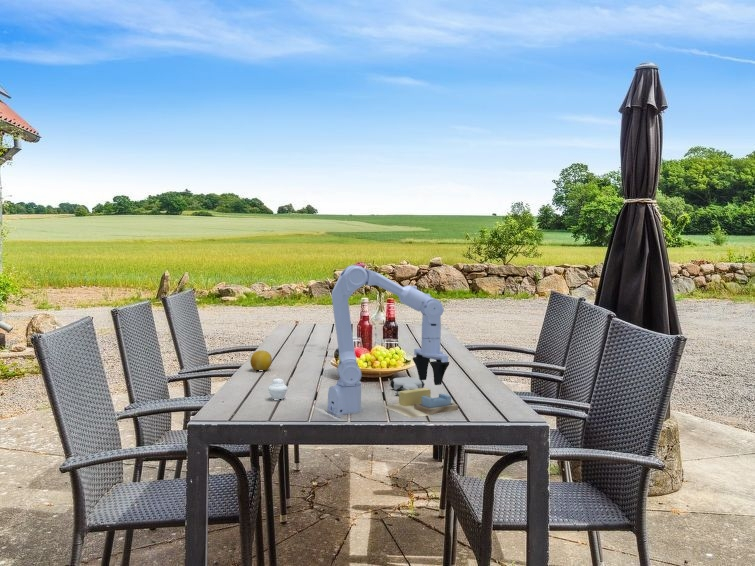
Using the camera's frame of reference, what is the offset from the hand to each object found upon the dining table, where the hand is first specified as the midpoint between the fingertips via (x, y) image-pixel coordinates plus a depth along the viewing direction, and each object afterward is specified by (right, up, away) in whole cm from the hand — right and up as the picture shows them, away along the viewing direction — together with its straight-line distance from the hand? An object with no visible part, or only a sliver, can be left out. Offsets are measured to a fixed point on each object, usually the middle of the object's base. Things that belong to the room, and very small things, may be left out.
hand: (430, 382), depth 190 cm
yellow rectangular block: (-4, -8, +6) cm, 10 cm away
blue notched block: (+2, -8, -1) cm, 8 cm away
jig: (-3, -9, 0) cm, 9 cm away
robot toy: (-5, -8, +23) cm, 25 cm away
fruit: (-62, -5, +61) cm, 87 cm away
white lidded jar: (-48, -8, +14) cm, 51 cm away
